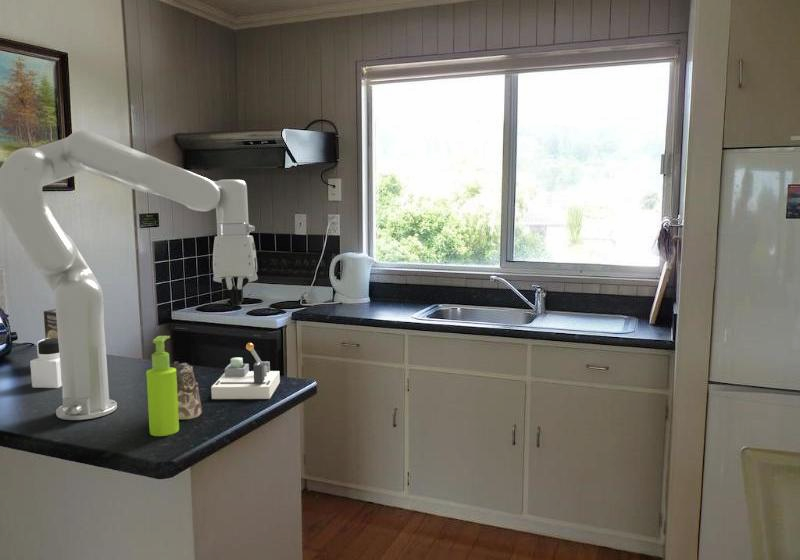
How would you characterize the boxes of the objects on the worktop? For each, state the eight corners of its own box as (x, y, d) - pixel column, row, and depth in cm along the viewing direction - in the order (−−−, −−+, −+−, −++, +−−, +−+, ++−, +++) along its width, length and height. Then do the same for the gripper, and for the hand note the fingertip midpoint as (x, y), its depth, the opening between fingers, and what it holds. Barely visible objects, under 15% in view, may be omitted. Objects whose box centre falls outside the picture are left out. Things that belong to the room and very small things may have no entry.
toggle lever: (267, 371, 172) (249, 342, 171) (261, 375, 172) (243, 346, 171) (270, 368, 175) (252, 340, 174) (263, 372, 175) (245, 343, 174)
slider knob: (262, 382, 163) (261, 364, 163) (254, 382, 163) (253, 364, 163) (264, 379, 166) (264, 361, 166) (256, 379, 166) (255, 361, 166)
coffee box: (46, 365, 194) (41, 310, 192) (67, 360, 199) (63, 307, 197) (64, 370, 189) (60, 313, 187) (85, 364, 194) (82, 310, 192)
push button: (241, 369, 172) (241, 360, 171) (229, 369, 172) (229, 360, 171) (244, 366, 175) (243, 357, 174) (232, 366, 175) (232, 357, 174)
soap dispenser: (184, 424, 145) (179, 333, 142) (174, 436, 138) (169, 341, 135) (156, 424, 145) (151, 333, 142) (145, 436, 138) (140, 341, 135)
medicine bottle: (74, 380, 178) (70, 336, 177) (57, 388, 171) (54, 342, 170) (48, 380, 179) (45, 336, 177) (31, 387, 172) (27, 342, 170)
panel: (269, 398, 162) (268, 376, 162) (211, 399, 162) (210, 376, 162) (279, 382, 176) (279, 361, 175) (226, 382, 176) (225, 361, 175)
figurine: (179, 422, 146) (176, 368, 145) (162, 415, 151) (159, 363, 149) (207, 413, 152) (205, 362, 150) (190, 407, 156) (187, 357, 155)
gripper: (266, 229, 167) (269, 301, 170) (206, 230, 167) (210, 302, 170) (260, 231, 160) (264, 307, 163) (197, 232, 160) (202, 308, 162)
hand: (236, 304), depth 166 cm, fingers closed
